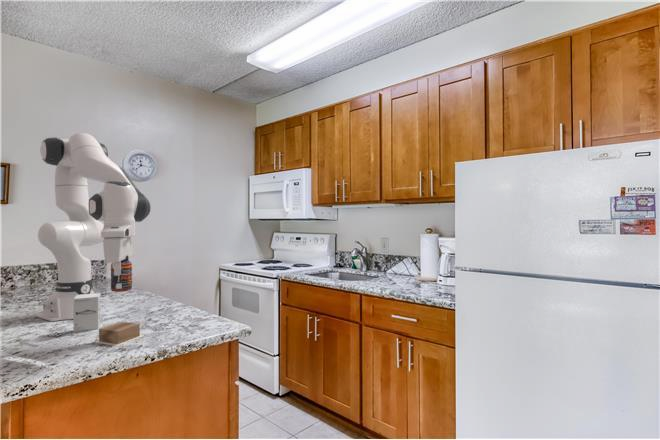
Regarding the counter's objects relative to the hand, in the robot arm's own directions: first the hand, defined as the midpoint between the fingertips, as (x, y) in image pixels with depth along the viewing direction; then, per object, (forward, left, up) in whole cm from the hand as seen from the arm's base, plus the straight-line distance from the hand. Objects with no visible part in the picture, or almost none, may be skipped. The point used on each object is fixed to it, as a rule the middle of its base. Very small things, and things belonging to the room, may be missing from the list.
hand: (120, 273), depth 115 cm
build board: (-3, 0, -22) cm, 22 cm away
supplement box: (-21, +4, -22) cm, 31 cm away
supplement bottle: (0, 0, -6) cm, 6 cm away
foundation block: (0, -1, -21) cm, 21 cm away
